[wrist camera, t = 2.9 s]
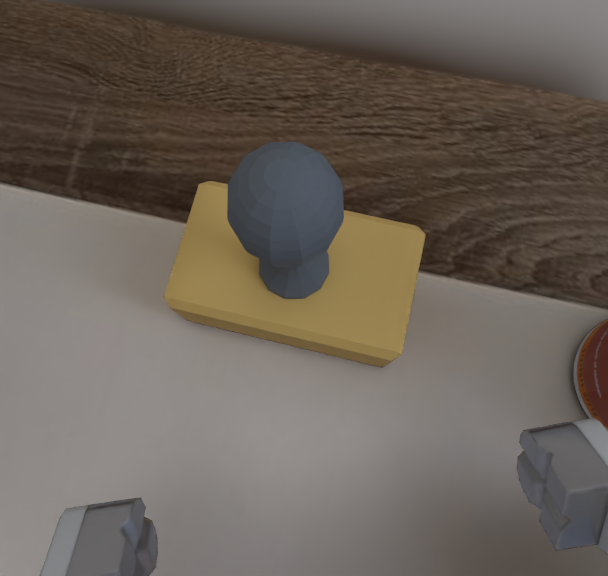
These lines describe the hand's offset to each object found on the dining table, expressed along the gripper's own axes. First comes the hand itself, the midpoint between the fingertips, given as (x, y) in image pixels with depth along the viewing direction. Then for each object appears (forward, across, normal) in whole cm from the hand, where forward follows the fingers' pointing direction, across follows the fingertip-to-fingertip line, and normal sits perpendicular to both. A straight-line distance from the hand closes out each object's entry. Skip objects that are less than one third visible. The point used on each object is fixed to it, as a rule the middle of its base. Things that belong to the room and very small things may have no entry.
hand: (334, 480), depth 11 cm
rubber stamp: (+14, 0, +4) cm, 15 cm away
